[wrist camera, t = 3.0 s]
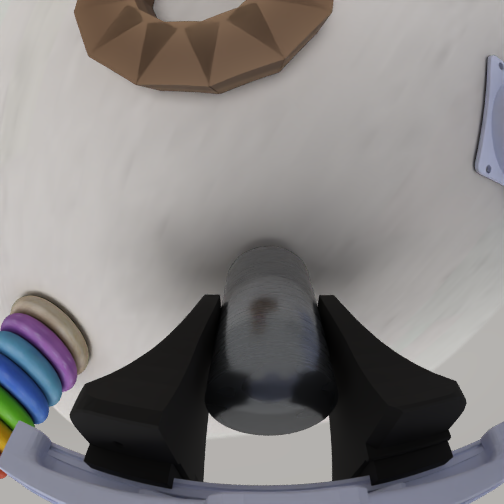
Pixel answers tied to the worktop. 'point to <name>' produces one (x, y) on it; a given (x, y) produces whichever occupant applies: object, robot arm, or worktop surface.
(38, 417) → the stacking toy
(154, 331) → the worktop surface
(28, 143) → the worktop surface
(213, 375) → the steel peg
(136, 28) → the walnut bead
